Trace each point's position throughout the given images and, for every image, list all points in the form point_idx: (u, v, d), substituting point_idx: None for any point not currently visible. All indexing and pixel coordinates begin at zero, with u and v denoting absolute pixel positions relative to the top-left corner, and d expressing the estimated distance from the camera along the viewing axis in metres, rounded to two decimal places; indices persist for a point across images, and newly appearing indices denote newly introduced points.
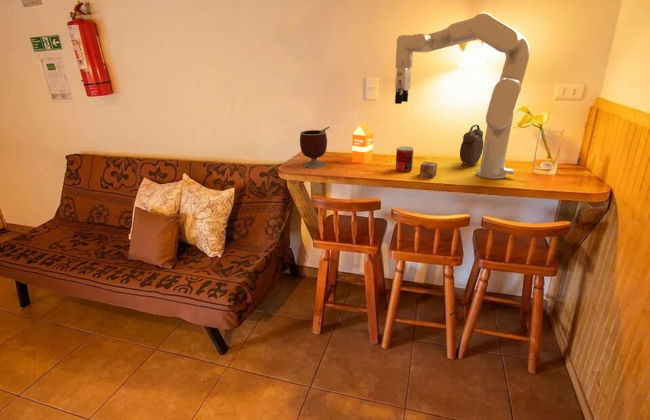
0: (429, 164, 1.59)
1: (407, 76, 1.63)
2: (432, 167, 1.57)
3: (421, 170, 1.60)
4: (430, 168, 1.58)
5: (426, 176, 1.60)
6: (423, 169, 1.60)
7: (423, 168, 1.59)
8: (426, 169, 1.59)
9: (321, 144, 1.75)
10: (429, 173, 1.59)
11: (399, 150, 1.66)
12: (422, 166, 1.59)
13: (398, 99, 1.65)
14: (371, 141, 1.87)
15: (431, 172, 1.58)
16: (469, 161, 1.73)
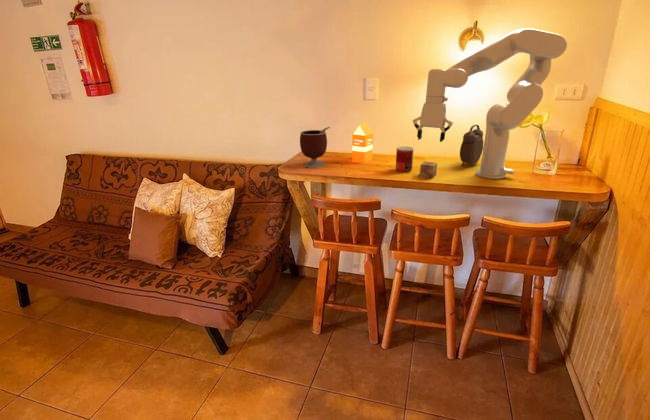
0: (429, 164, 1.59)
1: None
2: (432, 167, 1.57)
3: (421, 170, 1.60)
4: (430, 168, 1.58)
5: (426, 176, 1.60)
6: (423, 169, 1.60)
7: (423, 168, 1.59)
8: (426, 169, 1.59)
9: (321, 144, 1.75)
10: (429, 173, 1.59)
11: (399, 150, 1.66)
12: (422, 166, 1.59)
13: (444, 136, 1.53)
14: (371, 141, 1.87)
15: (431, 172, 1.58)
16: (469, 161, 1.73)
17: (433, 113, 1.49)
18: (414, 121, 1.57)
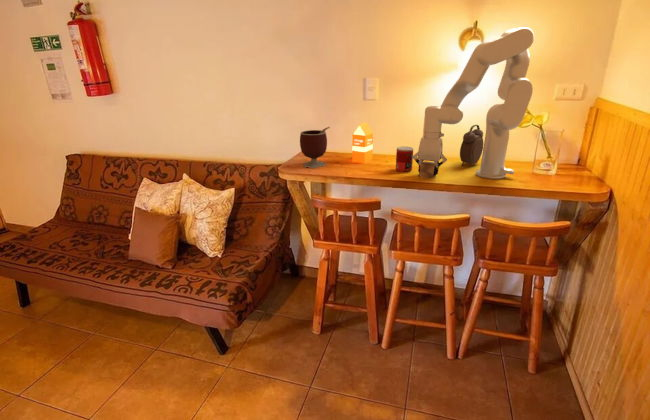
0: (429, 164, 1.59)
1: None
2: (432, 167, 1.57)
3: (421, 170, 1.60)
4: (430, 168, 1.58)
5: (426, 176, 1.60)
6: (423, 169, 1.60)
7: (423, 168, 1.59)
8: (426, 169, 1.59)
9: (321, 144, 1.75)
10: (429, 173, 1.59)
11: (399, 150, 1.66)
12: (422, 166, 1.59)
13: None
14: (371, 141, 1.87)
15: (431, 172, 1.58)
16: (469, 161, 1.73)
17: (430, 148, 1.55)
18: (414, 157, 1.62)
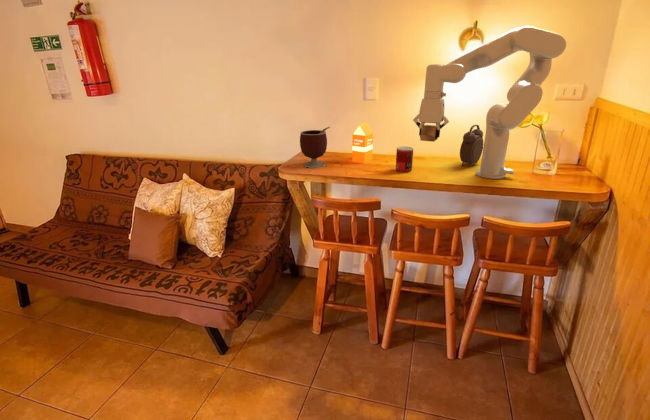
0: (430, 126, 1.53)
1: None
2: (433, 129, 1.51)
3: (422, 133, 1.54)
4: (431, 131, 1.52)
5: (427, 139, 1.54)
6: (424, 132, 1.54)
7: (424, 130, 1.54)
8: (427, 132, 1.53)
9: (321, 144, 1.75)
10: (430, 136, 1.53)
11: (399, 150, 1.66)
12: (423, 128, 1.54)
13: (439, 134, 1.54)
14: (371, 141, 1.87)
15: (432, 134, 1.52)
16: (469, 161, 1.73)
17: (432, 109, 1.49)
18: (415, 120, 1.57)
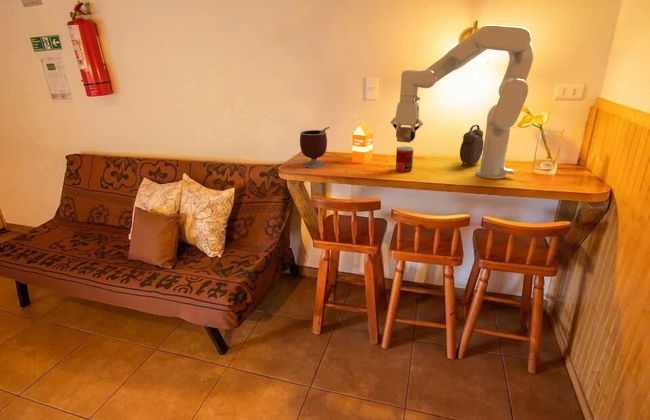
0: (406, 128, 1.63)
1: None
2: (409, 131, 1.61)
3: (398, 134, 1.64)
4: (406, 132, 1.62)
5: (403, 140, 1.64)
6: (400, 133, 1.63)
7: (400, 132, 1.63)
8: (403, 133, 1.63)
9: (321, 144, 1.75)
10: (406, 137, 1.63)
11: (399, 150, 1.66)
12: (399, 130, 1.63)
13: (414, 135, 1.64)
14: (371, 141, 1.87)
15: (408, 136, 1.62)
16: (469, 161, 1.73)
17: (407, 112, 1.59)
18: (392, 122, 1.66)
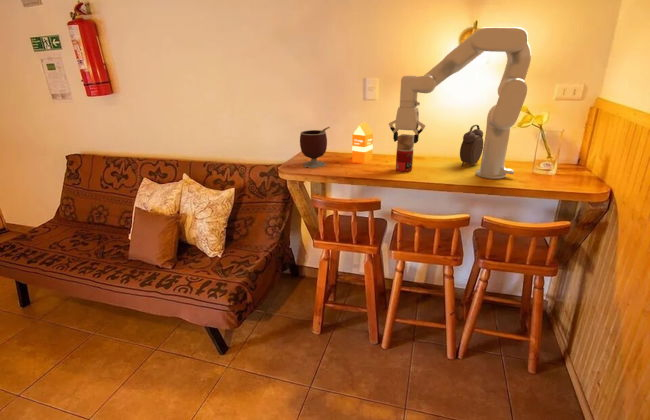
0: (406, 136, 1.64)
1: None
2: (409, 138, 1.62)
3: (398, 142, 1.65)
4: (406, 140, 1.63)
5: (403, 148, 1.65)
6: (400, 141, 1.65)
7: (401, 140, 1.64)
8: (403, 141, 1.64)
9: (321, 144, 1.75)
10: (406, 145, 1.64)
11: (399, 150, 1.66)
12: (399, 138, 1.64)
13: None
14: (371, 141, 1.87)
15: (408, 143, 1.63)
16: (469, 161, 1.73)
17: (406, 117, 1.60)
18: (390, 124, 1.67)
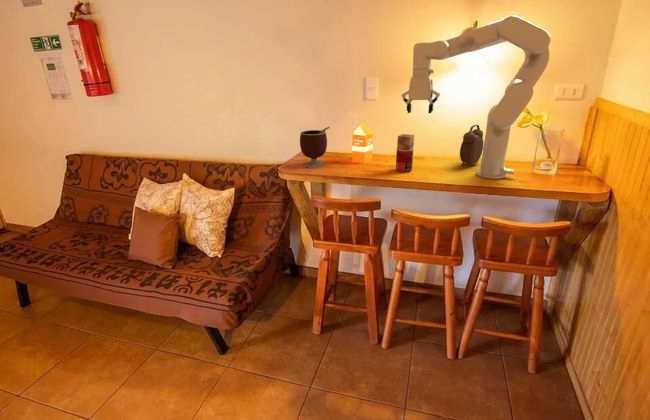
0: (406, 136, 1.64)
1: None
2: (409, 138, 1.62)
3: (398, 142, 1.65)
4: (406, 140, 1.63)
5: (403, 148, 1.65)
6: (400, 141, 1.65)
7: (401, 140, 1.64)
8: (403, 141, 1.64)
9: (321, 144, 1.75)
10: (406, 145, 1.64)
11: (399, 150, 1.66)
12: (399, 138, 1.64)
13: (432, 108, 1.59)
14: (371, 141, 1.87)
15: (408, 143, 1.63)
16: (469, 161, 1.73)
17: (420, 86, 1.56)
18: (403, 95, 1.63)
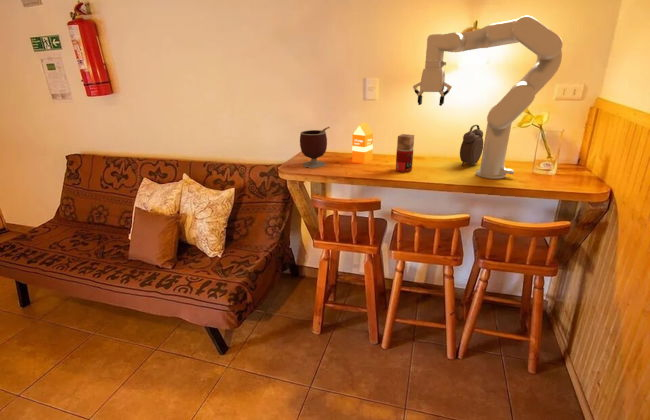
0: (406, 136, 1.64)
1: None
2: (409, 138, 1.62)
3: (398, 142, 1.65)
4: (406, 140, 1.63)
5: (403, 148, 1.65)
6: (400, 141, 1.65)
7: (401, 140, 1.64)
8: (403, 141, 1.64)
9: (321, 144, 1.75)
10: (406, 145, 1.64)
11: (399, 150, 1.66)
12: (399, 138, 1.64)
13: (443, 100, 1.60)
14: (371, 141, 1.87)
15: (408, 143, 1.63)
16: (469, 161, 1.73)
17: (432, 77, 1.56)
18: (414, 87, 1.63)
